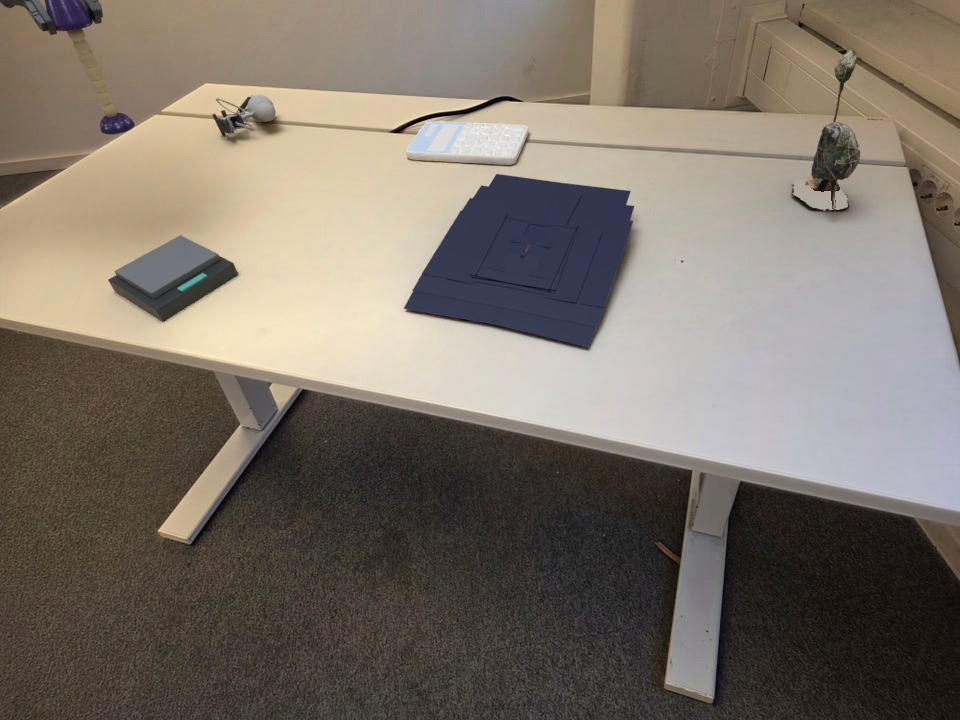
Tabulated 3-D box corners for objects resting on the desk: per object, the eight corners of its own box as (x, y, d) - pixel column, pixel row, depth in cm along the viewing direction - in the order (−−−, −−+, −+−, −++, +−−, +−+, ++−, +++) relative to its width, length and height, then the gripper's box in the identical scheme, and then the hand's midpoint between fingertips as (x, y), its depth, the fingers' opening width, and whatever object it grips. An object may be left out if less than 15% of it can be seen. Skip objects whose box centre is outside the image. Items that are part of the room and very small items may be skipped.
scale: (162, 321, 78) (152, 303, 76) (114, 291, 84) (103, 273, 82) (238, 274, 85) (231, 256, 83) (189, 249, 90) (181, 232, 88)
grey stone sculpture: (786, 216, 87) (834, 69, 73) (790, 178, 94) (835, 39, 80) (849, 224, 84) (911, 74, 70) (848, 186, 91) (905, 43, 77)
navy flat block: (642, 208, 88) (644, 187, 85) (590, 363, 71) (591, 342, 68) (486, 187, 95) (484, 167, 93) (405, 322, 78) (399, 303, 76)
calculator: (515, 166, 103) (515, 156, 101) (404, 160, 107) (402, 150, 106) (530, 132, 112) (529, 122, 110) (427, 128, 116) (425, 118, 115)
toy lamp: (132, 118, 85) (69, -20, 73) (144, 127, 82) (81, -14, 70) (97, 129, 82) (26, -11, 71) (109, 139, 80) (37, -5, 68)
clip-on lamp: (218, 131, 129) (227, 143, 114) (203, 100, 125) (210, 109, 111) (271, 112, 131) (285, 121, 117) (257, 81, 128) (271, 87, 113)
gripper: (58, -91, 77) (136, 30, 79) (-71, -71, 70) (18, 60, 72) (47, -144, 70) (133, -11, 72) (-97, -128, 64) (2, 18, 65)
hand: (75, 24), depth 72 cm, fingers closed on toy lamp, 4 cm apart
